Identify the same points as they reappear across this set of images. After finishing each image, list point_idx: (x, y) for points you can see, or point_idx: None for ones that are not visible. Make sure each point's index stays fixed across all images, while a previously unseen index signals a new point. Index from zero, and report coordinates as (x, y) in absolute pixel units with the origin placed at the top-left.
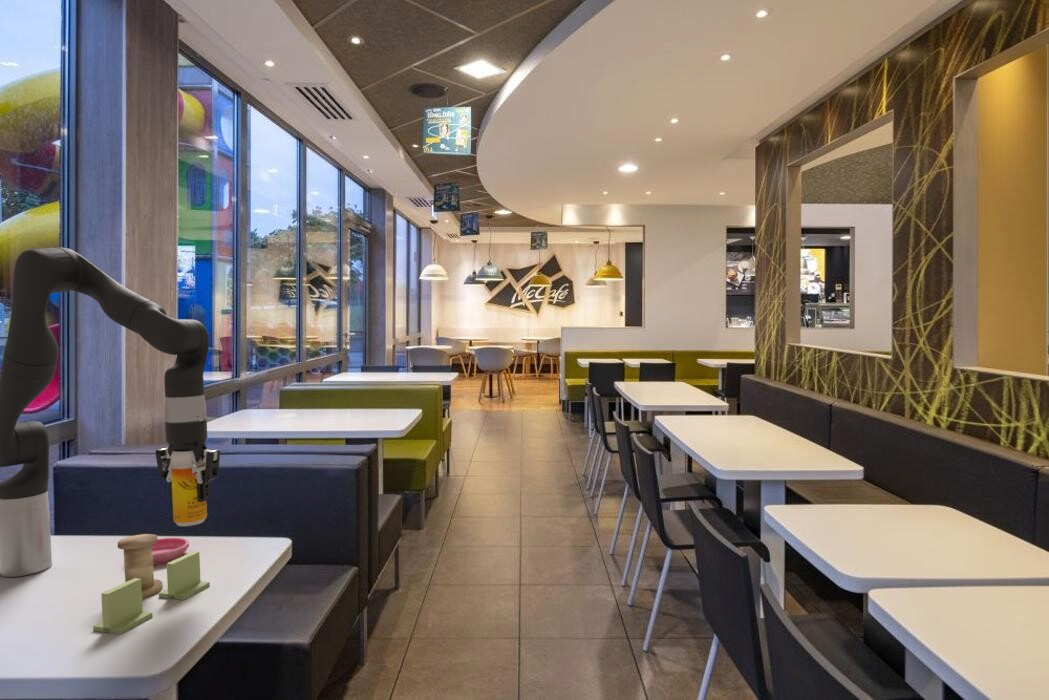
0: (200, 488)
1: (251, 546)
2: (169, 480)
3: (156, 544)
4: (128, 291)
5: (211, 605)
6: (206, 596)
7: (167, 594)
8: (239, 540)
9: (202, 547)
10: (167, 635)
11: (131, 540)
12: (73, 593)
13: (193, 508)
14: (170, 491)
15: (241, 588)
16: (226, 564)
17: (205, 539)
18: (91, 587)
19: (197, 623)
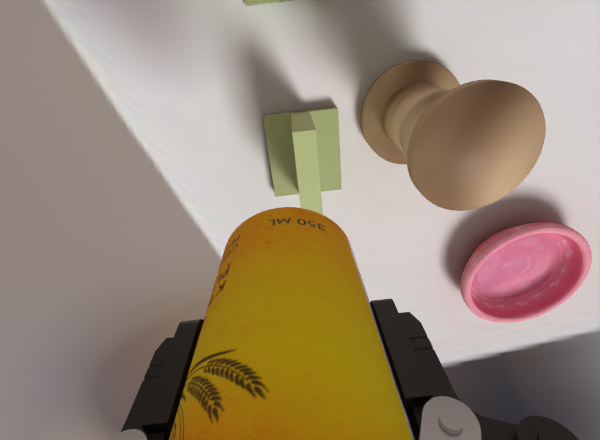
0: (153, 395)
1: None
2: (440, 413)
3: (551, 292)
4: None
5: (172, 115)
6: (231, 149)
7: (311, 111)
8: None
9: (455, 321)
10: None
11: (495, 137)
12: (581, 44)
13: (217, 278)
14: (406, 337)
15: (197, 205)
16: None
17: (479, 346)
18: (557, 91)
19: (100, 19)
